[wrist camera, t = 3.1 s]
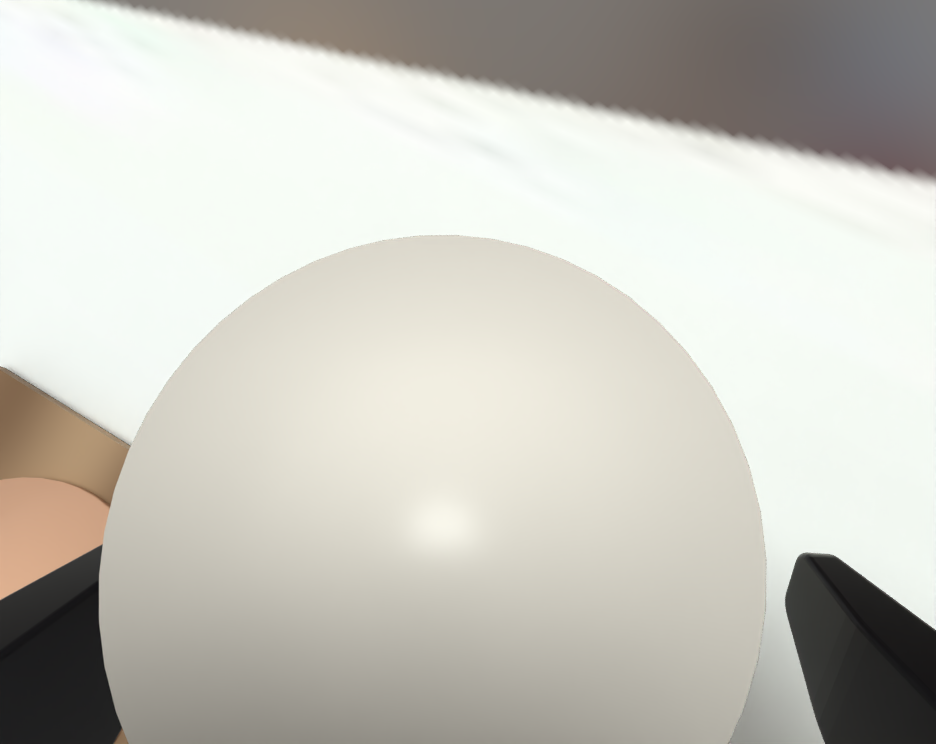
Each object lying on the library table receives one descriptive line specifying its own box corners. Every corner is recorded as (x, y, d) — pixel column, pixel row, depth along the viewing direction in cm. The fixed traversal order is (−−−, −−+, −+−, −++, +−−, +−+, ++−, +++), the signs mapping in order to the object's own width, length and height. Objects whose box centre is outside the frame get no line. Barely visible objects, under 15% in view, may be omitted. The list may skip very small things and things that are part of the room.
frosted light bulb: (606, 528, 16) (862, 385, 4) (534, 682, 15) (577, 1158, 3) (468, 455, 17) (326, 159, 5) (391, 594, 16) (-34, 661, 4)
